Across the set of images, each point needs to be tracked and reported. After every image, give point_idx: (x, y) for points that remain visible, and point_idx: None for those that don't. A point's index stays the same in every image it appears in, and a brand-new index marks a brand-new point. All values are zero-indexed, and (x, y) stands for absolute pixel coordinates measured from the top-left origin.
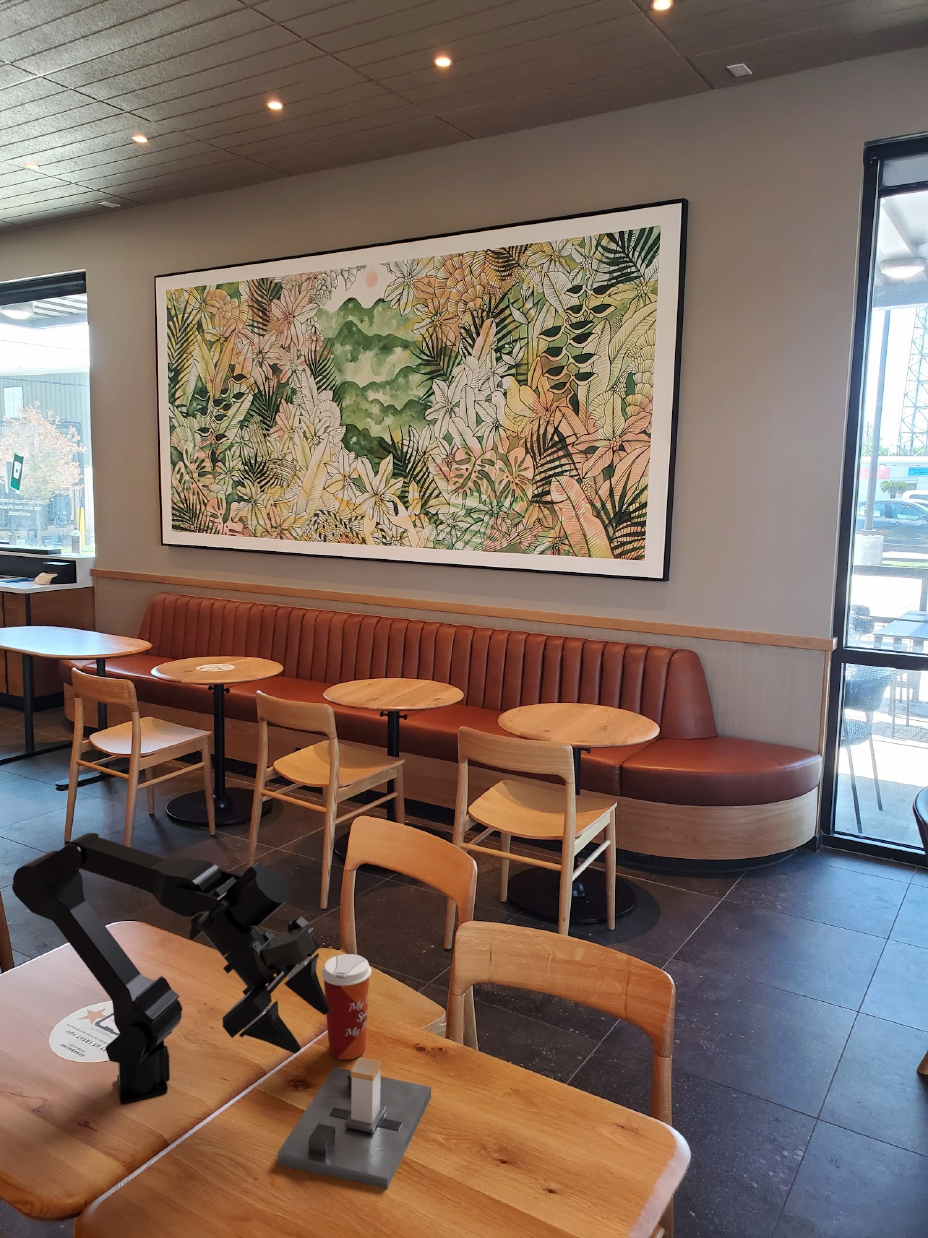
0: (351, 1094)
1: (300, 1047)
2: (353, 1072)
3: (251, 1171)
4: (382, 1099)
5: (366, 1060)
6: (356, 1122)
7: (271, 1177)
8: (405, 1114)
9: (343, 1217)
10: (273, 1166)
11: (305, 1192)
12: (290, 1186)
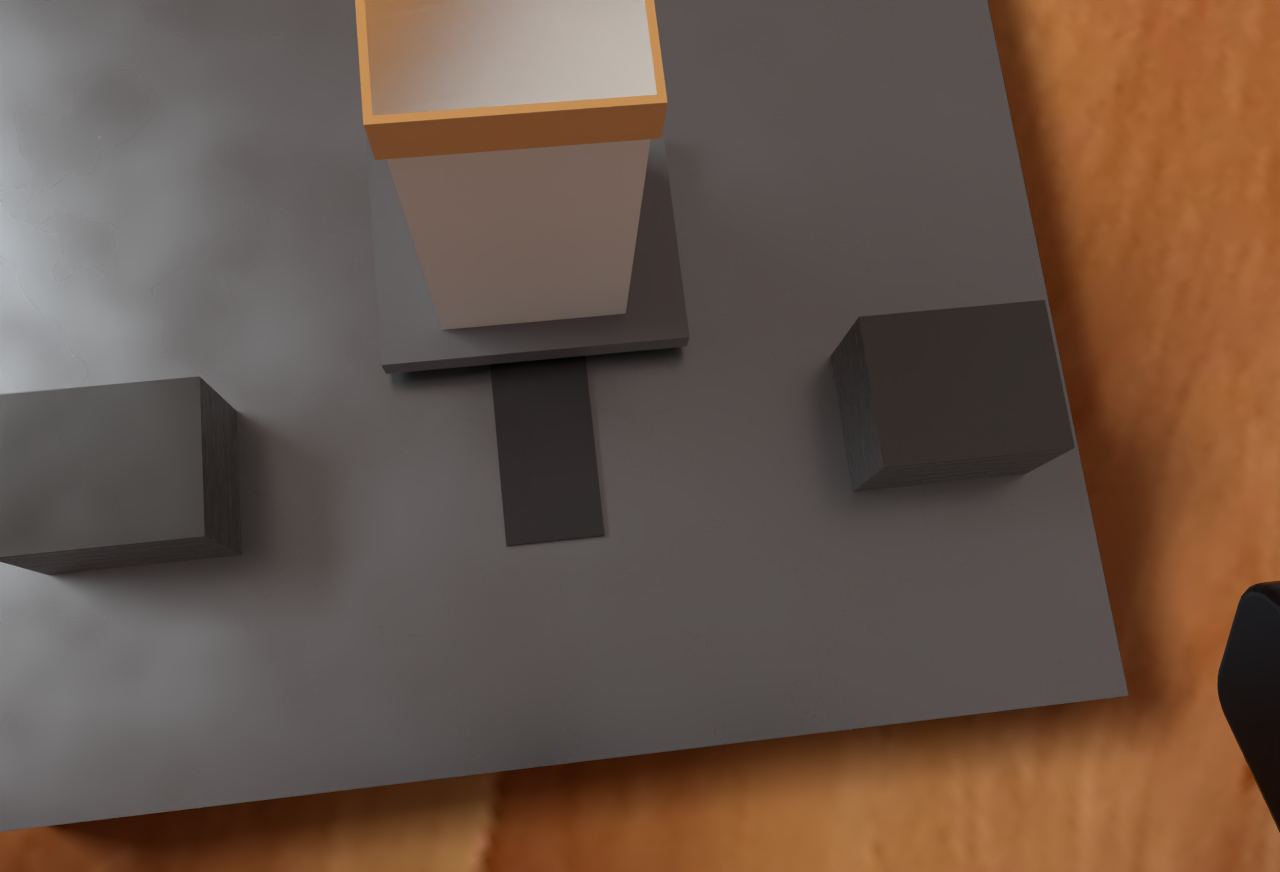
0: (635, 225)
1: (1277, 589)
2: (658, 74)
3: (1216, 845)
4: (264, 232)
5: (396, 22)
6: (644, 257)
7: (1195, 672)
8: None
9: (1248, 79)
10: (1105, 721)
11: (1196, 384)
12: (1200, 503)
